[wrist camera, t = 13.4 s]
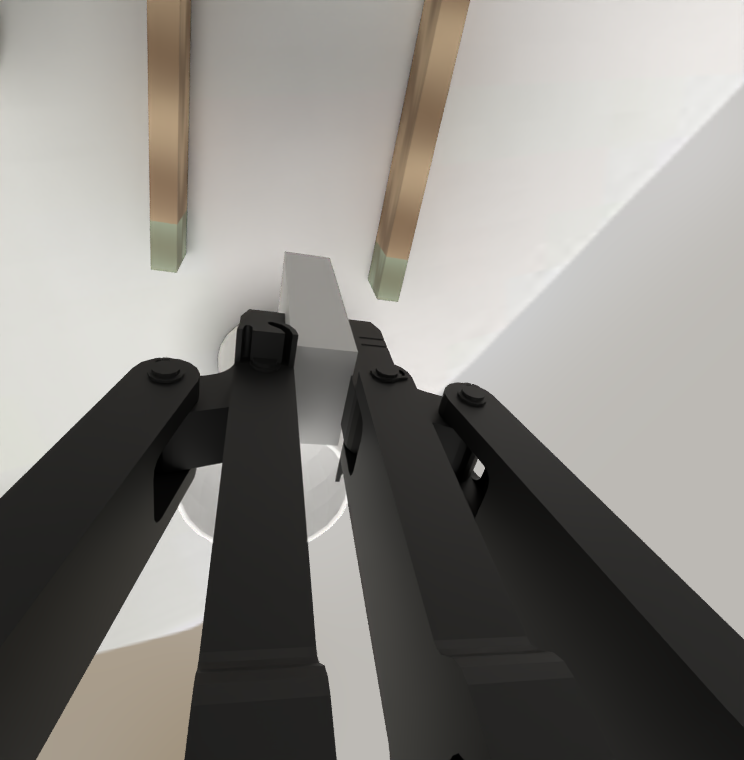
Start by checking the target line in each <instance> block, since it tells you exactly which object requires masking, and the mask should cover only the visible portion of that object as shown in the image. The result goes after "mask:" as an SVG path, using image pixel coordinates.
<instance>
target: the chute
mask: <svg viewBox="0 0 744 760" xmlns="http://www.w3.org/2000/svg"><path fill="white" fill-rule="evenodd" d="M469 3H470V0H425V1H424V6H423V11H422V16H421V21H420V26H419V31H418V36H417V41H416V46H415V50H414V55H413V60H412V65H411V70H410V75H409V80H408V85H407V90H406V95H405V100H404V105H403V109H402V114H401V119H400V124H399V129H398V134H397V139H396V144H395V149H394V154H393V159H392V164H391V168H390V173H389V178H388V183H387V188H386V193H385V198H384V203H383V208H382V213H381V218H380V223H379V227H378V232H377V237H376V242H375V247H374V252H373V257H372V262H371V267H370V272H369V277H368V281H369V283H370V285H371V287H372V289H373V291H374V293H375V296H376V298H377V299H379V300H387V301H395V302H398V300H399V296H400V291H401V287H402V283H403V279H404V275H405V271H406V266H407V262H408V258H409V254H410V250H411V245H412V241H413V237H414V233H415V229H416V225H417V220H418V216H419V212H420V208H421V204H422V199H423V195H424V191H425V187H426V183H427V178H428V174H429V170H430V166H431V162H432V158H433V153H434V149H435V145H436V141H437V137H438V132H439V128H440V124H441V120H442V116H443V112H444V107H445V103H446V99H447V95H448V91H449V86H450V82H451V78H452V74H453V70H454V66H455V61H456V57H457V53H458V49H459V45H460V40H461V36H462V32H463V28H464V24H465V20H466V15H467V11H468V7H469ZM190 34H191V0H147V43H148V112H149V180H150V249H151V270H159V271H166V272H174V273H177V271H178V269H179V267H180V265H181V263H182V261H183V259H184V257H185V255H186V232H187V183H188V133H189V84H190Z"/></svg>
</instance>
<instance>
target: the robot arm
mask: <svg viewBox="0 0 744 760" xmlns="http://www.w3.org/2000/svg"><path fill="white" fill-rule="evenodd" d="M341 429H342V434H343V439H344V441H343V446H342V450H341V455H340V459H339V464H338V468H337V473H336V479H335V482H340V478H341V475H342V474H343V477H344V483H345V489H346V495H347V501H348V507H349V512H350V518H351V524H352V530H353V536H354V542H355V548H356V554H357V559H358V566H359V572H360V577H361V583H362V589H363V595H364V601H365V607H366V613H367V619H368V625H369V630H370V636H371V642H372V648H373V654H374V660H375V666H376V671H377V677H378V684H379V689H380V695H381V701H382V707H383V713H384V719H385V725H386V731H387V736H388V742H389V751H390V760H744V639H743V638H742V637H741V636H740V635H739V634H738V633H737V632H736V631H735V630H734V629H732V627H730V626H729V625H728V624H727V623H726V622H725V621H724V620H723V619H722V618H721V617H720V616H719V615H718V614H717V613H716V612H715V611H714V610H713V609H712V608H711V607H710V606H709V605H708V604H707V603H706V602H705V601H704V600H703V599H701V597H700V596H699V595H698V594H697V593H696V592H695V591H693V590H692V589H691V588H690V587H689V586H688V585H687V584H686V583H685V582H684V581H683V580H682V579H681V578H680V577H679V576H678V575H677V574H676V573H675V572H674V571H673V570H672V569H671V568H670V567H669V566H668V565H667V564H666V563H665V562H663V560H662V559H661V558H660V557H659V556H657V555H656V554H655V553H654V552H653V551H652V550H651V549H650V548H649V547H648V546H647V545H646V544H645V543H644V542H643V541H642V540H641V539H640V538H639V537H638V536H637V535H636V534H635V533H634V532H633V531H632V530H631V529H630V528H629V527H628V526H627V525H626V524H625V523H624V522H623V521H622V520H621V519H619V518H618V517H617V516H616V515H615V514H614V513H613V512H612V511H611V510H610V509H609V508H608V507H607V506H606V505H605V504H604V503H603V502H602V501H601V500H600V499H599V498H598V497H597V496H596V495H595V494H594V493H593V492H592V491H591V490H590V489H589V488H588V487H586V485H584V483H582V482H581V481H580V480H579V479H578V478H577V477H576V476H575V475H574V474H573V473H572V472H571V471H570V470H569V469H568V468H567V467H566V466H565V465H564V464H563V463H562V462H561V461H560V460H559V459H558V458H557V457H556V456H555V455H553V453H552V452H551V451H550V450H549V449H548V448H546V447H545V446H544V445H543V444H542V443H541V442H540V441H539V440H538V439H537V438H536V437H535V436H534V435H533V434H532V433H531V432H530V431H529V430H528V429H527V428H526V427H525V426H524V425H523V424H522V423H521V422H520V421H519V420H518V419H517V418H516V417H514V415H513V414H511V412H510V411H508V410H507V409H506V408H505V407H504V406H503V405H502V404H501V403H500V402H499V401H498V400H497V399H496V398H495V397H494V396H493V395H492V394H490V393H489V392H488V391H486V390H484V389H482V388H480V387H479V386H477V385H474V384H472V385H471V384H470V383H452V384H449V385H448V386H447V387H445V390H444V393H443V396H439V395H435V394H432V393H428V392H425V391H422V390H419V389H417V388H416V385H415V383H414V381H413V379H412V377H411V376H410V374H409V373H408V372H407V371H405V370H404V369H403V368H401V367H399V366H396V365H394V363H393V360H392V358H391V356H390V353H389V351H388V348H387V346H386V343H385V341H384V338H383V336H382V333H381V331H380V330H379V329H378V328H377V327H376V326H374V325H373V324H372V323H371V322H365V321H357V320H348V317H347V314H346V310H345V307H344V304H343V300H342V297H341V294H340V290H339V287H338V284H337V280H336V277H335V274H334V270H333V267H332V264H331V260H330V258H325V257H319V256H312V255H305V254H298V253H291V252H285V256H284V264H283V273H282V281H281V290H280V298H279V307H278V313H277V312H269V311H260V310H251V309H249V310H248V311H247V312H245V313H244V314H243V315H242V316H241V319H240V324H239V326H238V327H237V333H236V346H235V359H234V365H233V366H232V367H231V368H229V369H227V370H226V371H224V372H221V373H218V374H212V375H205V376H200V373H199V371H198V369H197V368H196V367H195V366H193V365H192V364H191V363H189V362H186V361H183V360H180V359H172V358H155V359H151V360H147V361H144V362H141V363H139V364H138V365H136V366H135V367H133V368H132V369H131V370H130V371H129V372H128V373H127V374H126V375H125V376H124V377H123V378H122V379H121V380H120V381H119V382H118V383H117V384H116V385H115V386H114V387H113V388H112V389H111V390H110V391H109V392H108V393H107V394H106V395H105V396H104V397H103V398H102V399H101V400H100V401H99V402H98V403H97V404H96V405H95V406H94V407H93V408H92V409H91V410H90V411H89V412H88V413H86V414H85V415H84V416H83V417H82V418H81V419H80V420H79V421H78V422H77V423H76V424H75V425H74V426H73V427H72V428H71V429H70V430H69V431H68V432H67V433H66V434H65V435H64V436H63V437H62V438H61V439H60V440H59V441H58V442H57V443H56V444H55V445H54V446H53V447H52V448H51V449H50V450H49V451H48V452H47V453H46V454H45V455H44V456H43V457H42V458H41V459H40V460H39V461H38V462H37V463H36V464H35V465H34V466H33V467H32V468H31V469H30V470H29V471H28V472H27V473H26V474H25V475H24V476H22V477H21V478H20V479H19V480H18V481H17V482H16V483H15V484H14V485H13V486H12V487H11V488H10V489H9V490H8V491H7V492H6V493H5V494H4V495H3V496H2V497H1V498H0V760H36V758H37V757H38V755H39V753H40V752H41V750H42V748H43V746H44V744H45V743H46V741H47V739H48V737H49V735H50V734H51V732H52V730H53V728H54V727H55V725H56V723H57V721H58V719H59V718H60V716H61V714H62V712H63V711H64V709H65V707H66V705H67V703H68V702H69V700H70V698H71V696H72V694H73V693H74V691H75V689H76V687H77V685H78V684H79V682H80V680H81V679H82V677H83V675H84V673H85V671H86V670H87V668H88V666H89V664H90V663H91V661H92V659H93V657H94V655H95V654H96V652H97V650H98V648H99V647H100V645H101V643H102V641H103V639H104V638H105V636H106V634H107V632H108V631H109V629H110V627H111V625H112V623H113V622H114V620H115V618H116V616H117V615H118V613H119V611H120V609H121V607H122V606H123V604H124V602H125V600H126V599H127V597H128V595H129V593H130V591H131V590H132V588H133V586H134V584H135V583H136V581H137V579H138V577H139V575H140V574H141V572H142V570H143V568H144V566H145V565H146V563H147V561H148V559H149V558H150V556H151V554H152V552H153V550H154V549H155V547H156V545H157V543H158V542H159V540H160V538H161V536H162V534H163V533H164V531H165V529H166V527H167V526H168V524H169V522H170V520H171V518H172V517H173V515H174V513H175V511H176V510H177V508H178V506H179V504H180V502H181V501H182V499H183V497H184V495H185V494H186V492H187V490H188V488H189V486H190V485H191V483H192V481H193V479H194V478H195V474H196V470H197V468H198V467H204V466H209V465H214V464H220V463H222V469H221V478H220V486H219V495H218V503H217V511H216V520H215V528H214V537H213V545H212V553H211V562H210V570H209V579H208V587H207V595H206V604H205V612H204V621H203V629H202V637H201V646H200V654H199V662H198V668H197V672H196V675H195V681H194V688H193V695H192V703H191V711H190V719H189V727H188V735H187V743H186V751H185V759H184V760H337V759H336V749H335V738H334V728H333V719H332V718H333V717H332V707H331V698H330V697H331V696H330V689H329V682H328V676H327V672H326V669H325V666H324V665H323V664H321V663H319V661H318V657H317V650H316V641H315V628H314V615H313V602H312V592H311V591H312V590H311V577H310V564H309V551H308V539H307V526H306V513H305V501H304V488H303V476H302V463H301V450H300V444H317V445H336V446H338V443H339V438H340V433H341ZM477 459H479V460H480V461H481V463H482V464H483V465H484V467H485V470H484V472H483V475H482V476H481V478H480V477H479V476H477V474H476V473H475V472H474V471H473V469H474V467H475V464H476V462H477Z"/></svg>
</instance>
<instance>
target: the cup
mask: <svg viewBox="0 0 744 760" xmlns="http://www.w3.org/2000/svg"><path fill="white" fill-rule="evenodd" d="M238 326H239V325H238ZM238 326H237V327H238ZM237 327H235V328H234V329H233V330H232V331H231V332H230V333H228V334H227V336H226V337H225V339H224V341H223V342H222V344H221V346H220V350H219V354H218V370H219V373H221V372H224V371H226V370H227V369H229V368H231V367H232V366H233V365H234V359H235V346H236V333H237ZM343 441H344V439H343V434H342V429H341V433H340V438H339V443H338V446H336V445H317V444H300V450H301V463H302V476H303V488H304V501H305V513H306V526H307V539H308V542H309V541H311V540H313V539H315V538H317V537H318V536H320V535H321V534H322V533H324V532H325V531H326V530H328V529H329V528H331V526H332V525H333V524H334V523H335V522H336V521H337V520H338V519H339V517H340V516H341V515H342V514H343V512H344V510H345V508H346V506H347V504H348V501H347V495H346V489H345V483H344V477H343V474H342V475H341V478H340V482H335V479H336V473H337V468H338V464H339V459H340V455H341V450H342V446H343ZM221 469H222V463H220V464H214V465H209V466H204V467H198V468H197V470H196V474H195V478H194V479H193V481H192V483H191V485H190V486H189V488H188V490H187V492H186V494H185V495H184V497H183V499H182V501H181V502H180V504H179V506H178V509H179V511H180V513H181V515H182V517H183V519H184V521H185V522H186V523H187V524H188V525H189V526H190V527H191V528H192V529H193V530H194V531H195V532H196V533H197V534H198V535H200V536H202V537H203V538H205V539H207V540H208V541H210V542H212V543H213V537H214V528H215V520H216V511H217V503H218V495H219V486H220V478H221Z"/></svg>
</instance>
